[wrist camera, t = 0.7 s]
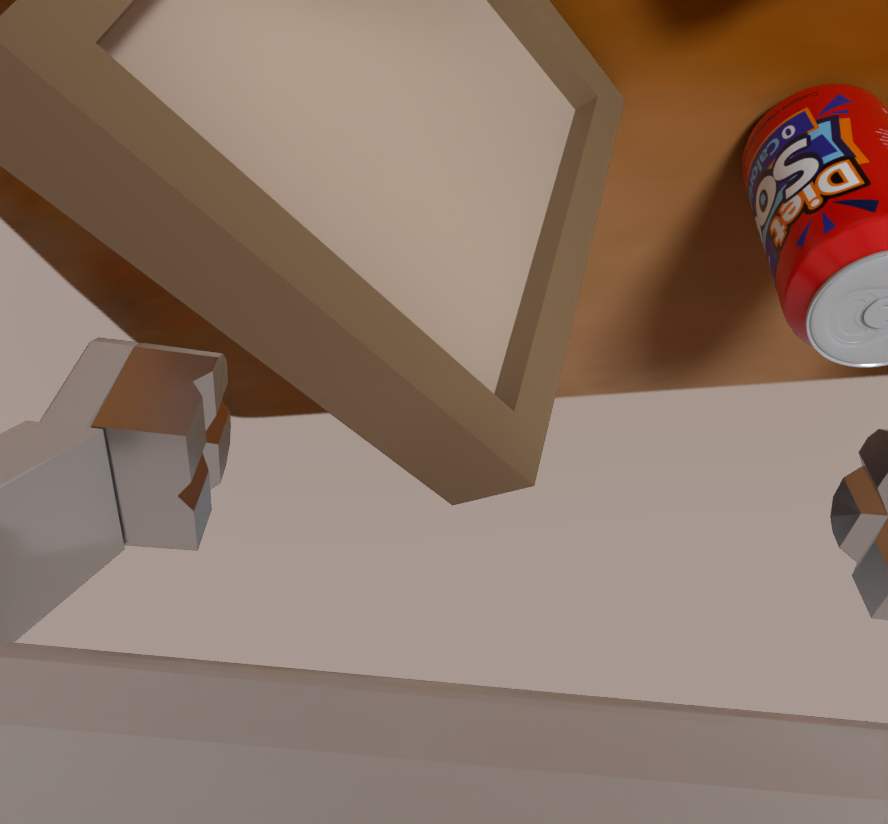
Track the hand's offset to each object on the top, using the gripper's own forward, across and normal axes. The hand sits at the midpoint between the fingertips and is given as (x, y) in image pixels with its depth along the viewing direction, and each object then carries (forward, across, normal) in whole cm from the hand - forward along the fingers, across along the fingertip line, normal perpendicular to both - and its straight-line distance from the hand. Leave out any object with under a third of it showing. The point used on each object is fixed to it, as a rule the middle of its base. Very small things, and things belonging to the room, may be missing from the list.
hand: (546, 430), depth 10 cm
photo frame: (+39, +5, +6) cm, 40 cm away
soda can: (+38, -20, +9) cm, 44 cm away
